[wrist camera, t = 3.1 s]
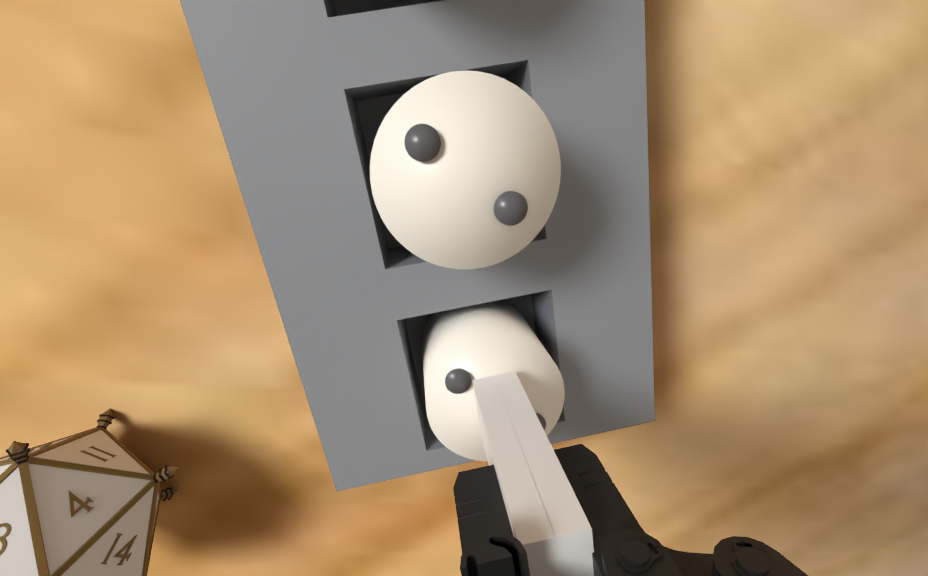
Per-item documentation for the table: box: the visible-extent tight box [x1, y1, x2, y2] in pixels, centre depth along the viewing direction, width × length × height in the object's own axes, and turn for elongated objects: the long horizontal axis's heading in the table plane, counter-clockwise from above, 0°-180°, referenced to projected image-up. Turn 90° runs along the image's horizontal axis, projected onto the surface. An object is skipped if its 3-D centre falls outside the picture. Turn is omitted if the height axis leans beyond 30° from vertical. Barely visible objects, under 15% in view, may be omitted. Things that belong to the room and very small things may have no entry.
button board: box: [180, 0, 655, 491], centre depth 17 cm, size 24×14×4 cm, turn 9°
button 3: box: [422, 299, 565, 461], centre depth 18 cm, size 5×5×5 cm
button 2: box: [370, 71, 561, 269], centre depth 14 cm, size 5×5×5 cm
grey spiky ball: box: [0, 408, 179, 576], centre depth 17 cm, size 9×8×10 cm
